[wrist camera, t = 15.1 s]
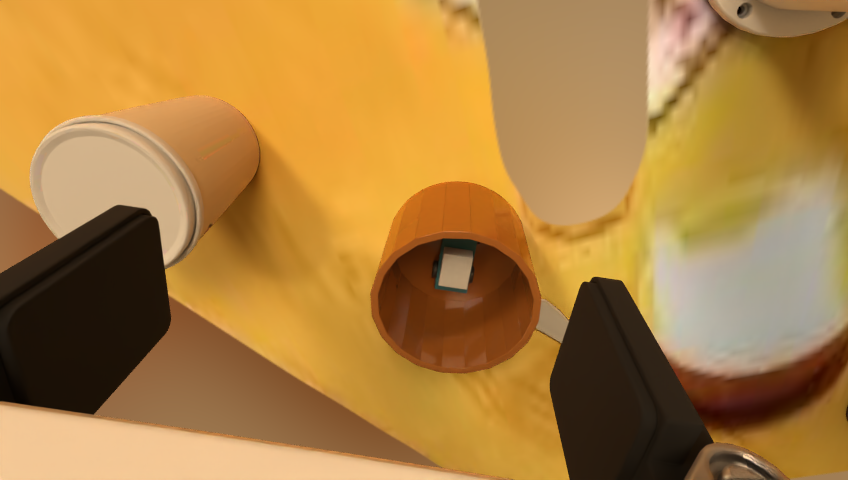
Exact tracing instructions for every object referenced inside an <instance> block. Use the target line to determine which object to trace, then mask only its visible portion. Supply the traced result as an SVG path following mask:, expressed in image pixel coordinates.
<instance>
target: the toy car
mask: <svg viewBox="0 0 848 480" xmlns="http://www.w3.org/2000/svg"><path fill="white" fill-rule="evenodd" d="M477 244H480V242H477V241H474V240H471V239H447V238H443V239H442V242H441V248H440V254H439V260H438V261H436V260H434V263H433V269H432V277H433V278H435V289H440V290H447V291H453V292H460V293H467V290H468V285H469V283H472V281H473V277H474V266H473V261H474V256H475V251H476V246H477Z"/></svg>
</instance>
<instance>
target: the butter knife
mask: <svg viewBox="0 0 848 480" xmlns="http://www.w3.org/2000/svg"><path fill="white" fill-rule="evenodd" d="M568 322H569V320H568V319H567V318H566V317H565V316H564V315H563V314H562V313H561V311H560V310H558V309H557V308H556V307H555V306H553V305H552V304H551V303H550V302H548V301H547V300H545V299H541V308H540V317H539V322H538V324H537V326H536V329H538V330H539V331H541V332H543V333H545V334H546V335H548V336H550V337H552V338H553V339H555V340H557V341H559V342H560V343H562V341H563V337H564V334H565V331H566V328H567V325H568Z"/></svg>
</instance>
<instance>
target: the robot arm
mask: <svg viewBox="0 0 848 480" xmlns="http://www.w3.org/2000/svg"><path fill="white" fill-rule="evenodd" d="M708 1H709V3H710V5H711V6H712V8H713V9H714V10H715V11H716V12H717V13H718V14H719V15H720V16H721V17H722V18H723V19H724V20H725V21H727V22H728V23H730V24H732V25H733V26H735V27H736V28H738V29H740V30H743V31H746V32H749V33H752V34H755V35H762V36H768V37H796V36H802V35H807V34H812V33H816V32H818V31H821V30H824V29H827V28H829V27H832V26H835V25H837V24H839V23H841V22H842V21H844V20H846V19H848V0H708ZM739 6H740V7H741V11H740V13H739V14H738V15H737V10H738V8H739ZM170 322H171V314H170V306H169V298H168V290H167V283H166V275H165V267H164V259H163V252H162V244H161V236H160V228H159V222H158V220H157V218H156V217H154V216H152V214H151V213H150V211H149V210H147V209H145V208H139V207H132V206H126V205H116V206H113V207H112V208H110V209H108V210H107V211H105V212H103V213H102V214H100V215H98V216H97V217H95V218H93V219H92V220H90V221H88V222H86V223H85V224H83V225H81V226H80V227H78V228H76V229H75V230H73V231H71V232H70V233H68V234H66V235H65V236H63V237H61V238H59V239H58V240H56V241H54V242H53V243H51V244H50V245H48V246H46V247H44V248H43V249H41V250H39V251H37V252H36V253H34V254H32V255H31V256H29V257H28V258H26V259H24V260H22V261H21V262H19V263H17V264H16V265H14V266H12V267H10V268H9V269H7V270H5V271H4V272H2V273H0V480H513V479H507V478H501V477H495V476H489V475H482V474H476V473H470V472H463V471H457V470H451V469H445V468H438V467H432V466H425V465H419V464H413V463H406V462H401V461H394V460H388V459H381V458H375V457H369V456H362V455H356V454H349V453H344V452H337V451H331V450H324V449H318V448H311V447H304V446H298V445H292V444H285V443H278V442H272V441H266V440H259V439H252V438H245V437H239V436H232V435H226V434H219V433H213V432H206V431H200V430H193V429H186V428H180V427H173V426H166V425H159V424H153V423H146V422H139V421H132V420H125V419H119V418H112V417H105V416H98V415H94V413H95V412H96V411H97V410H98V409H99V408H100V407H101V406H102V404H103V403H104V402H105V401H106V400H107V399H108V398H109V397H110V396H111V394H112V393H113V392H114V391H115V390H116V389H117V388H118V387H119V385H120V384H121V383H122V382H123V381H124V380H125V379H126V378H127V376H128V375H129V374H130V373H131V372H132V371H133V369H135V367H136V366H137V365H138V364H139V363H140V361H142V359H143V358H144V357H145V356H146V355H147V354H148V352H150V351H151V349H152V348H153V347H154V346H155V345H156V344H157V342H159V340H160V339H161V338H162V337H163V336H164V335H165V333H166V332H167V331H168V328H169V326H170ZM550 393H551V398H552V402H553V407H554V411H555V416H556V420H557V425H558V429H559V433H560V438H561V442H562V447H563V451H564V456H565V460H566V465H567V469H568V474H569V478H570V480H790V479H789V478H788V477H787V476H786V475H784V474H783V473H782V472H781V471H780V470H779V469H778V468H777V467H776V466H774V465H773V464H771V463H770V462H768V461H767V460H766V459H764V458H763V457H761V456H759V455H757V454H755V453H753V452H751V451H749V450H747V449H745V448H742V447H739V446H736V445H733V444H728V443H714V442H713V440H712V438H711V436H710V435H709V433H708V431H707V429H706V428H705V425H704V423H703V422H702V420H701V418H700V416H699V415H698V413H697V411H696V409H695V408H694V406H693V404H692V402H691V401H690V399H689V397H688V395H687V394H686V392H685V390H684V388H683V387H682V385H681V383H680V381H679V380H678V378H677V376H676V374H675V373H674V371H673V369H672V367H671V366H670V364H669V362H668V360H667V359H666V357H665V355H664V353H663V352H662V350H661V348H660V346H659V345H658V343H657V341H656V339H655V338H654V336H653V334H652V332H651V330H650V329H649V327H648V325H647V323H646V322H645V320H644V318H643V316H642V315H641V313H640V311H639V309H638V308H637V306H636V304H635V302H634V301H633V299H632V297H631V295H630V294H629V292H628V290H627V288H626V287H625V285H624V283H623V282H622V281H620V280H614V279H608V278H601V277H593V278H592V279H591V281H590V282H583V283H582V284H581V287H580V289H579V292H578V295H577V298H576V301H575V304H574V307H573V310H572V313H571V316H570V319H569V322H568V325H567V328H566V331H565V334H564V337H563V341H562V344H561V347H560V350H559V353H558V356H557V359H556V362H555V365H554V368H553V371H552V374H551V378H550Z"/></svg>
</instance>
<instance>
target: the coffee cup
mask: <svg viewBox="0 0 848 480" xmlns="http://www.w3.org/2000/svg"><path fill="white" fill-rule="evenodd" d="M259 155H260V153H259V145H258V140H257V137H256V135H255V133H254V131H253V129H252V127H251V125H250V124H249V122H248V121H247V120H246V118H245V117H244V116H243V115H242V114H241V113H240V112H239V111H238V110H237V109H235V108H234V107H233V106H231V105H229V104H228V103H226V102H224V101H222V100H220V99H217V98H213V97H209V96H189V97H182V98H177V99H172V100H167V101H162V102H157V103H152V104H148V105H143V106H138V107H134V108H129V109H124V110H120V111H115V112H110V113H106V114H102V115H90V116H82V117H78V118H73V119H70V120H68V121H65V122H63V123H62V124H60V125H58V126H56V127H55V128H54V129H52V130H51V131H50V132H49V133H48V134H47V135H46V136H45V137H44V139H43V140H42V142H41V143H40V145H39V147H38V148H37V150H36V152H35V154H34V156H33V159H32V162H31V167H30V187H31V191H32V195H33V199H34V202H35V204H36V207H37V209H38V211H39V213H40V215H41V217H42V219H43V220H44V221H45V223H46V224H47V226H48V227H49V228H50V230H51V231H52V232H53V234H54V235H55V236H56V237H57V238H58V239H59V238H61V237H63V236H65V235H66V234H68V233H70V232H71V231H73V230H75V229H76V228H78V227H80V226H81V225H83V224H85V223H86V222H88V221H90V220H92V219H93V218H95V217H97V216H98V215H100V214H102V213H103V212H105V211H107V210H108V209H110V208H112V207H113V206H116V205H126V206H132V207H139V208H145V209H147V210H149V211H150V213H151V214H152V216H154V217H156V218H157V220H158V222H159V228H160V236H161V244H162V252H163V259H164V267H165V269H167V268H169V267H171V266H173V265H175V264H177V263H179V262H180V261H181V260H183V259H184V258H185V257H186V256H187V255H188V254H189V253H190V252H191V251H192V250H193V248H194V247H195V246H196V244H197V242H198V240H199V239H200V238H201V237H202V236H203V235H204V234H205V233H206V232H207V231H208V229H209V228H210V227H211V226H212V225H213V224H214V223H215V222H216V220H217V219H218V218H219V217H220V216H221V215H222V214H223V213H224V212H225V210H226V209H227V208H228V207H229V206H230V205H231V204H232V202H233V201H234V200H235V199H236V198H237V197H238V195H239V194H240V193H241V192H242V191H243V190H244V189H245V187H246V186H247V185H248V184H249V182H250V181H251V180H252V178H253V177H254V175H255V173H256V171H257V168H258V164H259Z"/></svg>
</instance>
